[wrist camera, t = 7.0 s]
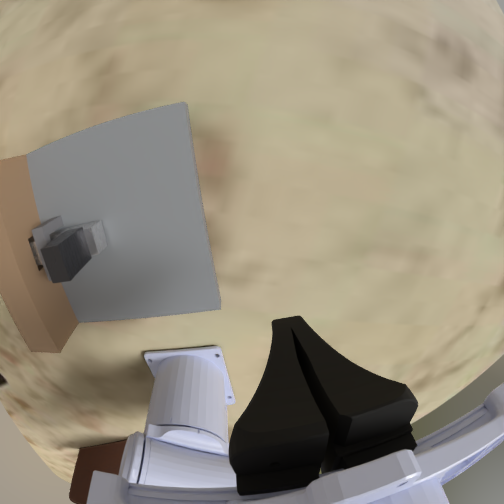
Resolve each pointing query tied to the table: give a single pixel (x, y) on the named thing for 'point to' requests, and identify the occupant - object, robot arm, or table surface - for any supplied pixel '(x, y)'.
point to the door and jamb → (107, 227)
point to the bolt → (70, 250)
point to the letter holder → (94, 467)
